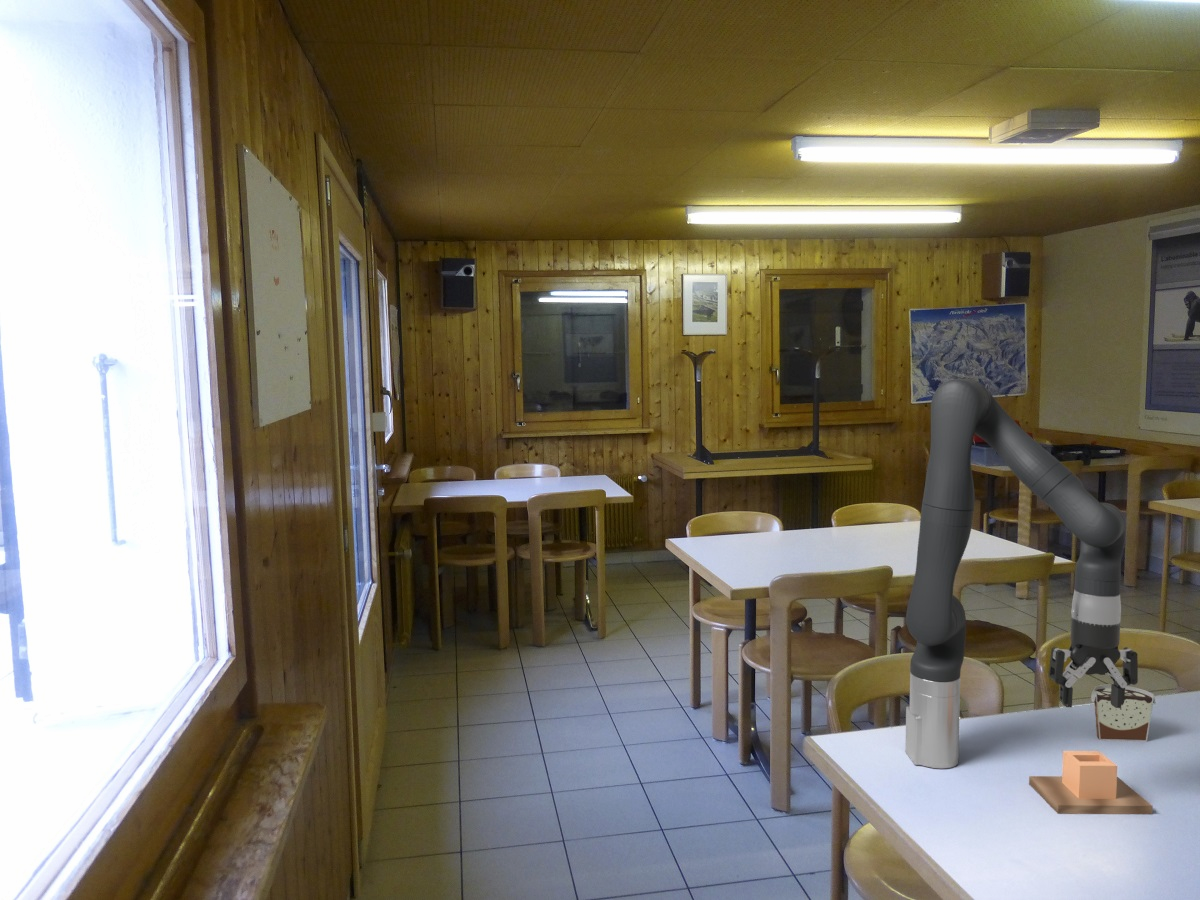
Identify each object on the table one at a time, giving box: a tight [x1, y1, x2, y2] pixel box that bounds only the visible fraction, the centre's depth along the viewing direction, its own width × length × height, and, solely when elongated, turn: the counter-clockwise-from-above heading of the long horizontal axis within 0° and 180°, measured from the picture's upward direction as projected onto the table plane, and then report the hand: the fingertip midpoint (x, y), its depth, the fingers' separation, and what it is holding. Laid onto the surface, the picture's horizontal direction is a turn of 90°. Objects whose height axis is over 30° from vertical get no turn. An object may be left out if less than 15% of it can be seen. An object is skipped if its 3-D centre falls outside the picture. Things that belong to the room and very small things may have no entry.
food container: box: [1090, 683, 1157, 743], centre depth 183 cm, size 12×6×10 cm, turn 84°
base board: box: [1028, 775, 1154, 815], centre depth 156 cm, size 16×11×6 cm
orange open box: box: [1061, 750, 1118, 799], centre depth 156 cm, size 6×6×6 cm
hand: (1091, 706), depth 155 cm, fingers open, 8 cm apart
